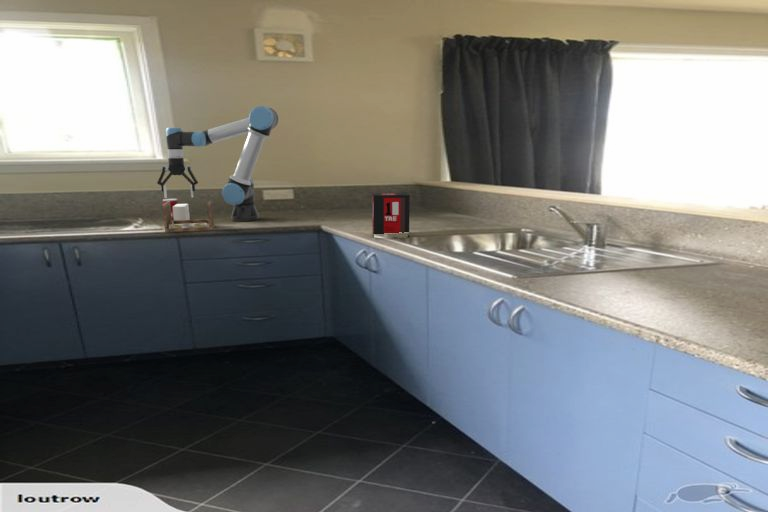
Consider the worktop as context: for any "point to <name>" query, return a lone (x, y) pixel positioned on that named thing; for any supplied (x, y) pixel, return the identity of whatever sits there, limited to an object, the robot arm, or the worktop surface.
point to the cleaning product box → (390, 212)
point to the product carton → (181, 212)
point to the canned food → (171, 204)
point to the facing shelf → (187, 224)
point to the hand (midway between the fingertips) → (179, 197)
